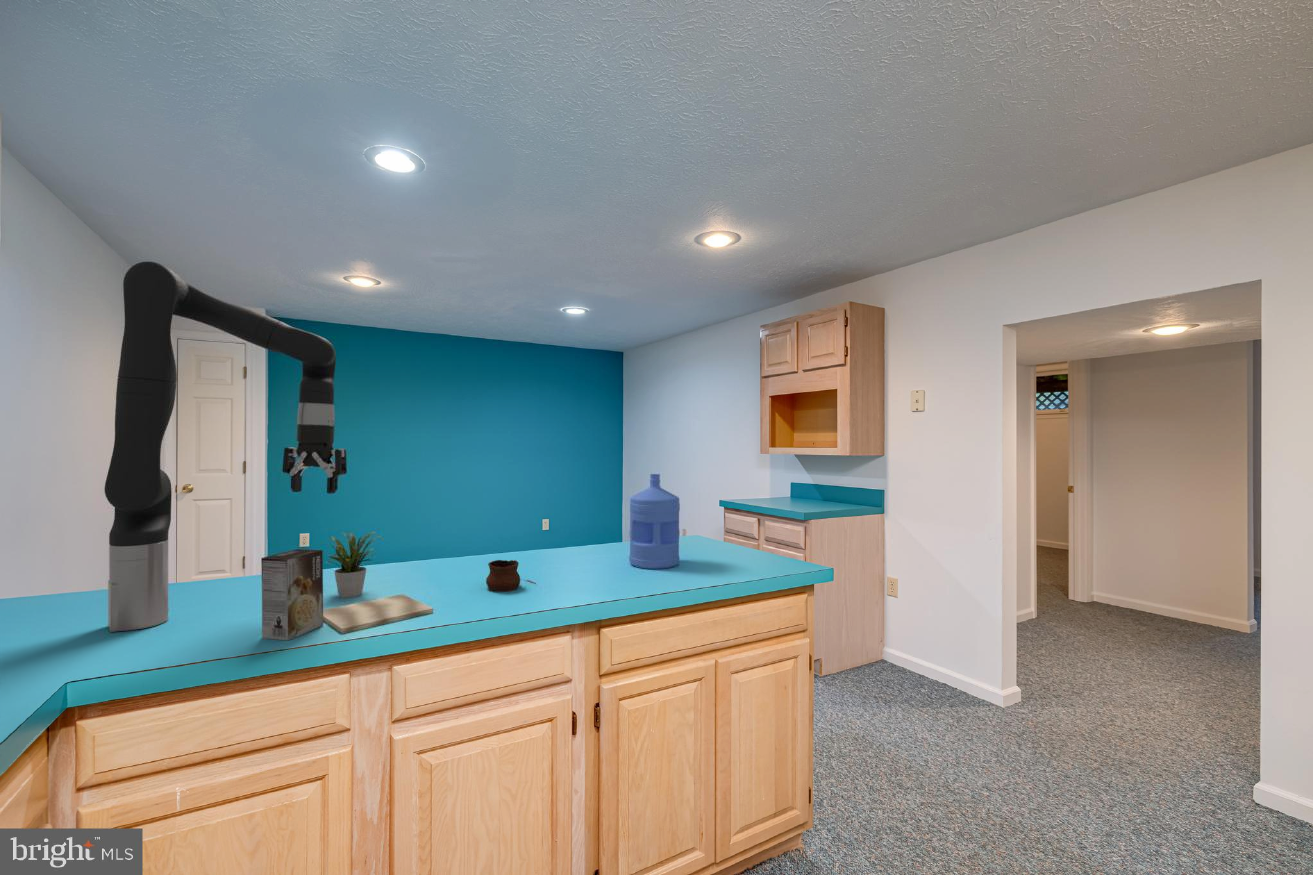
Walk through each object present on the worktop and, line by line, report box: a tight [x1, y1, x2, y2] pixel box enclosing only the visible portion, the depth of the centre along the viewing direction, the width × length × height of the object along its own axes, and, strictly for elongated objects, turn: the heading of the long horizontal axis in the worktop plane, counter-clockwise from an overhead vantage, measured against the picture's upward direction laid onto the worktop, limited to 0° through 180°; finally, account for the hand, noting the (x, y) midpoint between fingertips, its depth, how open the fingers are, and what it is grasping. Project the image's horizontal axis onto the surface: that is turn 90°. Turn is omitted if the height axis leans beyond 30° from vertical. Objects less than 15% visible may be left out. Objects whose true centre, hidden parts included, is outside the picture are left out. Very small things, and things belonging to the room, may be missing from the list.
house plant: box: [321, 530, 383, 599], centre depth 144 cm, size 14×14×16 cm
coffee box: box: [260, 548, 324, 641], centre depth 117 cm, size 9×6×16 cm
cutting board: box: [323, 593, 434, 634], centre depth 128 cm, size 19×16×1 cm
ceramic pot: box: [485, 559, 537, 593], centre depth 151 cm, size 18×18×7 cm
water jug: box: [628, 473, 681, 570], centre depth 180 cm, size 16×16×28 cm
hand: (314, 492), depth 134 cm, fingers open, 8 cm apart
